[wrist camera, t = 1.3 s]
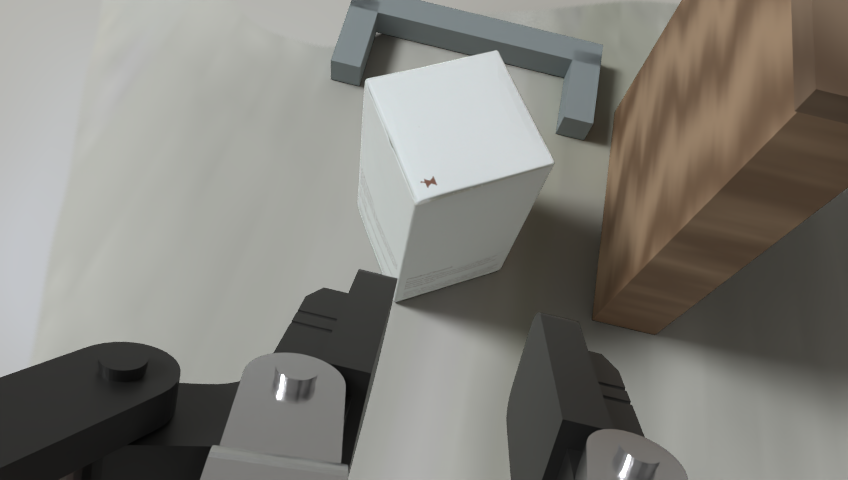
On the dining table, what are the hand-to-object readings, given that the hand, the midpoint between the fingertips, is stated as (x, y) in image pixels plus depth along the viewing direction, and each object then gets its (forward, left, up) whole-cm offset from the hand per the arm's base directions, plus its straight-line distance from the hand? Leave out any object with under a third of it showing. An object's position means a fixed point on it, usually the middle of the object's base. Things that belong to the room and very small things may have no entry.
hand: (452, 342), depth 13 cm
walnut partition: (-22, -10, -28) cm, 37 cm away
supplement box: (-9, -13, -28) cm, 32 cm away
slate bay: (-17, -24, -28) cm, 41 cm away
